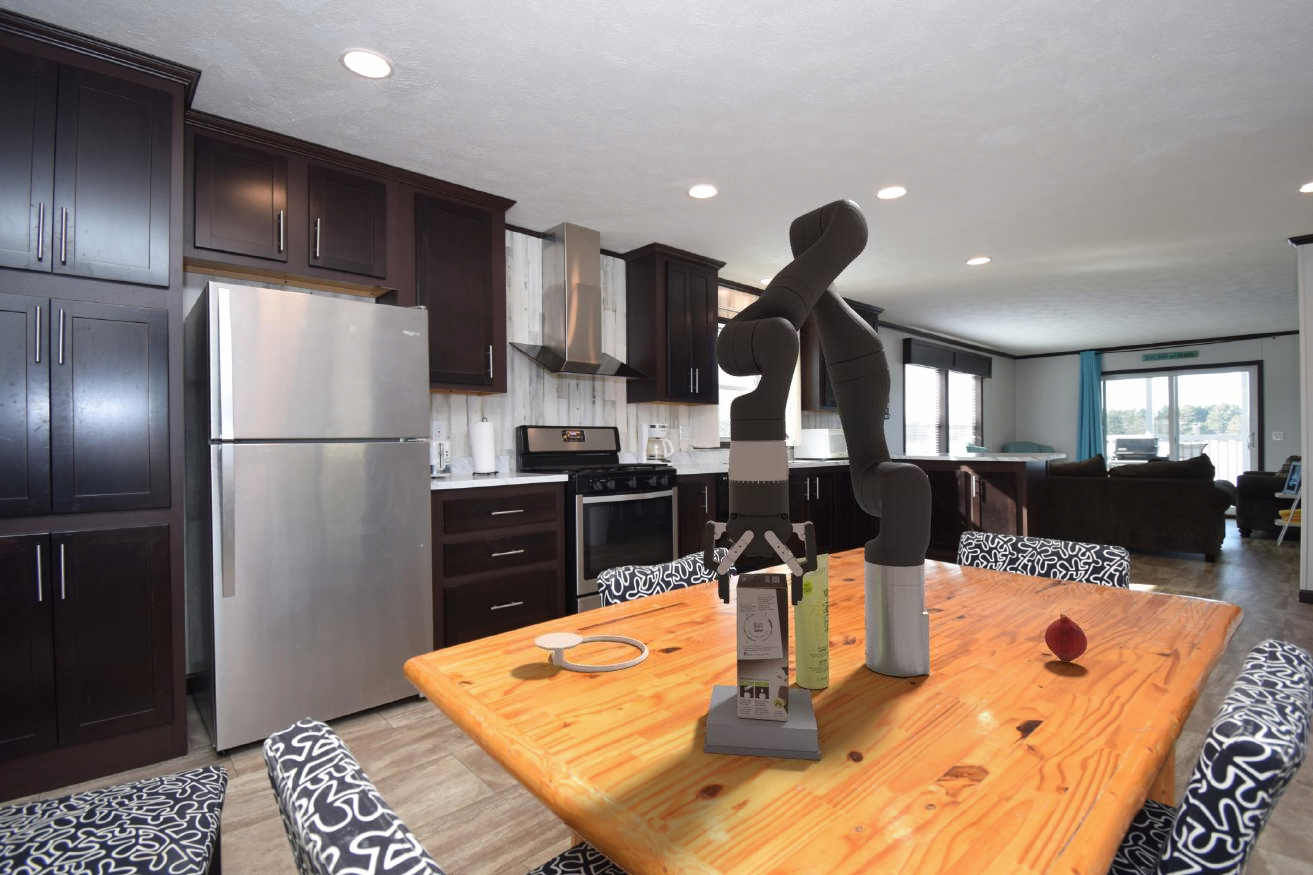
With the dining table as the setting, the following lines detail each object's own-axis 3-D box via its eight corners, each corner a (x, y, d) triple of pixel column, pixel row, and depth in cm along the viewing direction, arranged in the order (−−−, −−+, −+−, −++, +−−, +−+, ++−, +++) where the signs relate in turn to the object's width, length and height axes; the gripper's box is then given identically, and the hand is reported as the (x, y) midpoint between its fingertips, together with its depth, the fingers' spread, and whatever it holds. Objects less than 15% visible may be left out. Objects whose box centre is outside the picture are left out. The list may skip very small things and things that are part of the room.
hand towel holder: (667, 635, 110) (558, 659, 98) (668, 660, 110) (558, 687, 98) (616, 612, 124) (516, 631, 112) (617, 635, 124) (516, 656, 112)
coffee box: (790, 722, 77) (788, 588, 77) (736, 718, 78) (734, 586, 78) (788, 692, 86) (787, 572, 86) (740, 689, 87) (739, 570, 87)
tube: (828, 693, 94) (826, 560, 94) (793, 689, 95) (791, 558, 95) (830, 679, 99) (828, 553, 99) (796, 676, 101) (795, 552, 101)
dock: (812, 713, 87) (811, 688, 87) (820, 760, 75) (820, 730, 75) (711, 708, 89) (711, 683, 89) (704, 752, 77) (703, 724, 77)
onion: (1083, 659, 107) (1083, 611, 107) (1090, 670, 102) (1089, 620, 102) (1043, 654, 109) (1042, 607, 109) (1047, 665, 104) (1047, 616, 104)
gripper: (813, 474, 85) (814, 597, 85) (705, 474, 87) (706, 594, 87) (818, 478, 77) (820, 613, 77) (700, 478, 79) (701, 609, 79)
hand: (760, 603), depth 82 cm, fingers open, 8 cm apart
